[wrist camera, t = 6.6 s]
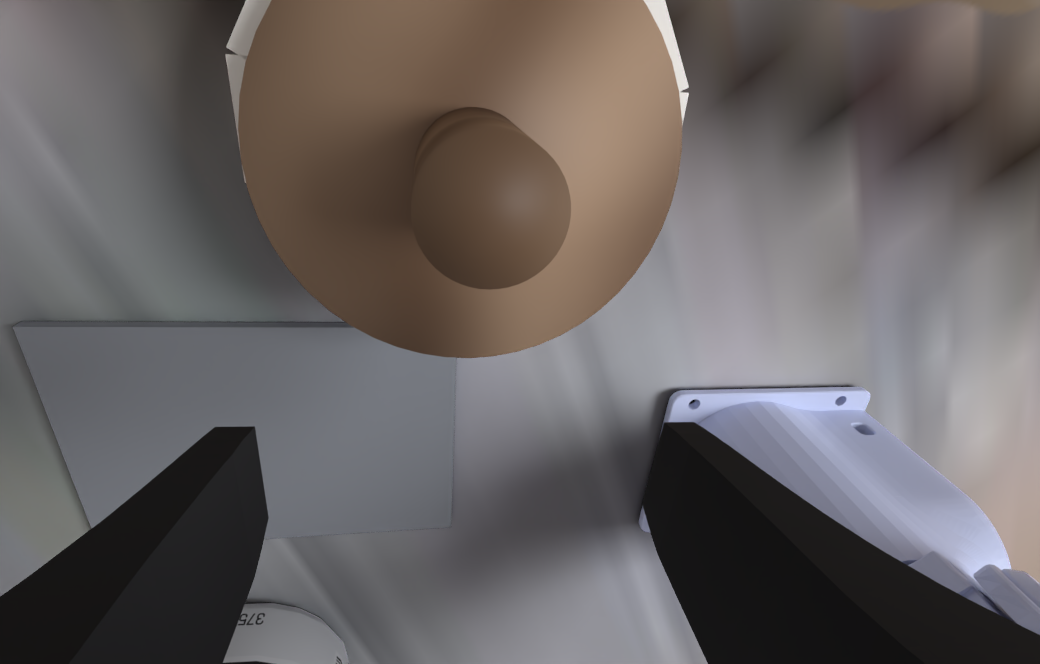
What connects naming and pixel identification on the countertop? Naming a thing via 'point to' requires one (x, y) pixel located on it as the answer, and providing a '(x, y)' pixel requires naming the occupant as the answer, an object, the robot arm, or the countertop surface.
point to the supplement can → (283, 637)
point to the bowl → (259, 3)
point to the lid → (460, 161)
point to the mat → (254, 415)
